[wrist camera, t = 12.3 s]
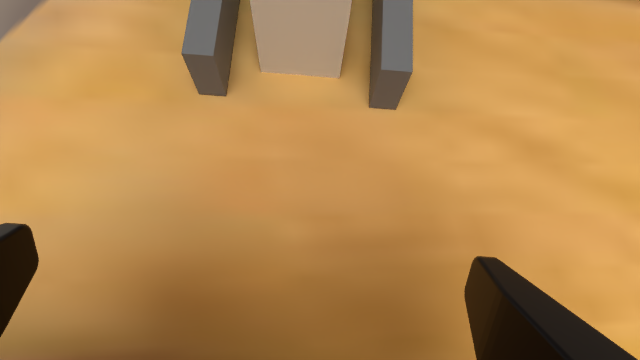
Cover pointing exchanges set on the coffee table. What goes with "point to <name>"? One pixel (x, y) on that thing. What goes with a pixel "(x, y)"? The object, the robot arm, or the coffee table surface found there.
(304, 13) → the white rectangular block
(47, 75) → the coffee table surface
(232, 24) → the frame
